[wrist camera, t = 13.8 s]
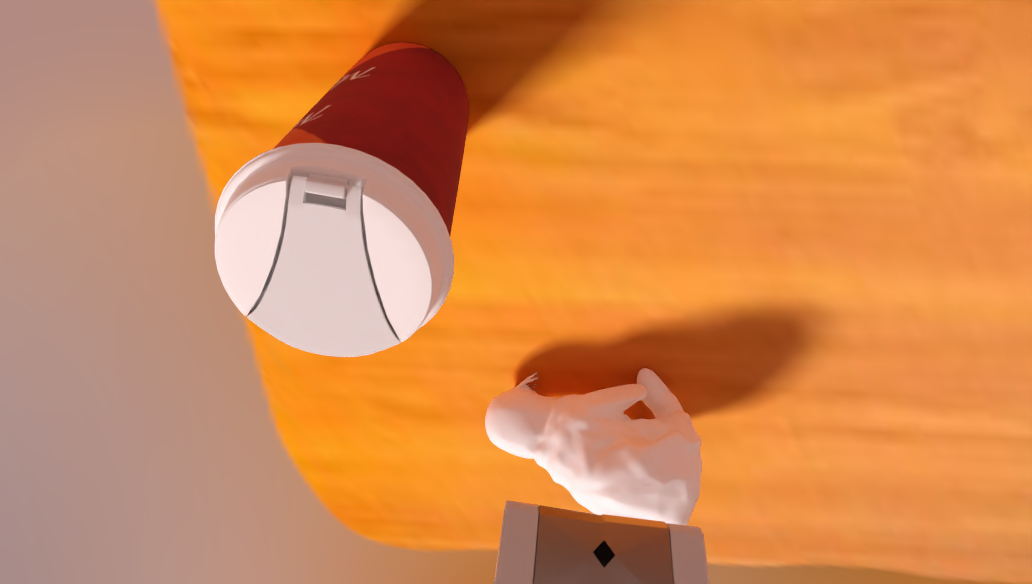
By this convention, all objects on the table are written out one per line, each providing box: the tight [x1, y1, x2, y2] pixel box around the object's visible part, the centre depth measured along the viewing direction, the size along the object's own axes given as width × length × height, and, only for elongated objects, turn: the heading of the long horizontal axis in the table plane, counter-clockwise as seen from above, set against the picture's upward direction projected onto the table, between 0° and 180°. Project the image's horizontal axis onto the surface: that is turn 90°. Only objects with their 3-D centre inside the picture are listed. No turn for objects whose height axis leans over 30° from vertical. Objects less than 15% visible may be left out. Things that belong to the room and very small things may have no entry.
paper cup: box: [215, 42, 469, 357], centre depth 28 cm, size 8×8×14 cm
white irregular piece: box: [485, 368, 702, 525], centre depth 41 cm, size 6×8×12 cm
